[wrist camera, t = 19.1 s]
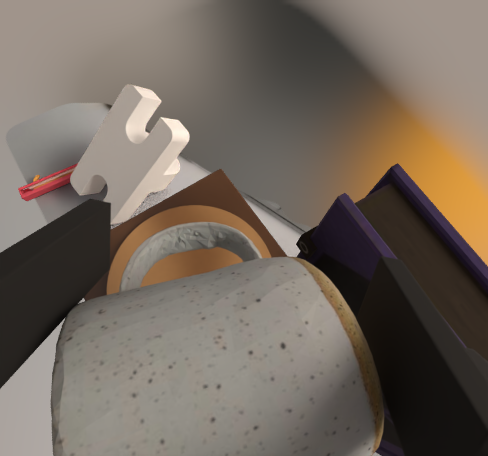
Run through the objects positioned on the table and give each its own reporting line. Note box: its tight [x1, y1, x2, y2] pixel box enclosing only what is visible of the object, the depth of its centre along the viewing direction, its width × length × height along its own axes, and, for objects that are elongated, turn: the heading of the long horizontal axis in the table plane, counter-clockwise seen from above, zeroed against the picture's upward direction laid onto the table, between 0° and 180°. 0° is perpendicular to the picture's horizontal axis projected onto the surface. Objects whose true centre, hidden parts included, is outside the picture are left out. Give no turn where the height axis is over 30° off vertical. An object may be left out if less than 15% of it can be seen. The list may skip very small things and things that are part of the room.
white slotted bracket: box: [70, 84, 189, 225], centre depth 50 cm, size 10×18×11 cm
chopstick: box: [18, 163, 78, 201], centre depth 54 cm, size 24×2×5 cm
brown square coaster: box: [84, 169, 287, 301], centre depth 22 cm, size 12×12×2 cm
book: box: [296, 164, 488, 456], centre depth 32 cm, size 24×6×30 cm, turn 31°
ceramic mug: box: [51, 222, 384, 456], centre depth 12 cm, size 11×8×8 cm
